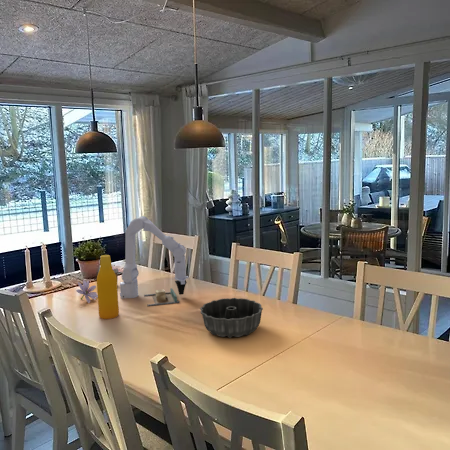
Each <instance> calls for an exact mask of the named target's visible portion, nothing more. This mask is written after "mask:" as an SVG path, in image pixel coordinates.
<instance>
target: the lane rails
mask: <svg viewBox="0 0 450 450" xmlns="http://www.w3.org/2000/svg"><path fill="white" fill-rule="evenodd" d="M165 294H171V291H168V292H166V291H165ZM155 295H156V293H146V294H143V296H144V297H152V296H155ZM173 304H180V300H177V301H175V302H166V303H157V304H155V303H150V304H147V307H154V306H155V307H156V306H164V305H173Z"/></svg>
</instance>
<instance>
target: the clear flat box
mask: <svg viewBox="0 0 450 450" xmlns="http://www.w3.org/2000/svg"><path fill="white" fill-rule="evenodd" d="M170 292H171V294H165V296H166V300H162V301H157V300H156V295H154V296H151V297H152V299H153V304H157V303H166V302H175V301H178V296H177V294H176V292H175V291H174V289H173V287H171V288H170Z"/></svg>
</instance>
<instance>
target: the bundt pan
mask: <svg viewBox="0 0 450 450" xmlns="http://www.w3.org/2000/svg"><path fill="white" fill-rule="evenodd" d="M199 308H200V309H199V310H200V314H201V315H202V320H203V321H202V322H203V324H204V328H205V329H206V330H207V331H208V332H210V333H211V334H212V335H213V336H218V337H221V338H224V337H228V338H229V339H231V338H232V337H236V338H241V337H242V336H248V335H250V333H253V332H254V331H256V330H257V328H258V327H259V325H260V324H261V319H262V313H263V310H264V308H263V307H262V304H261V303H259V302H257V301H255V300H250V299H248V298H241V297H240V298H237V297H232V298H219V299H217V300H216V299H215V300H212V301H209V302H206V303H204V304H203V305H202V306H201V307H199Z"/></svg>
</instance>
